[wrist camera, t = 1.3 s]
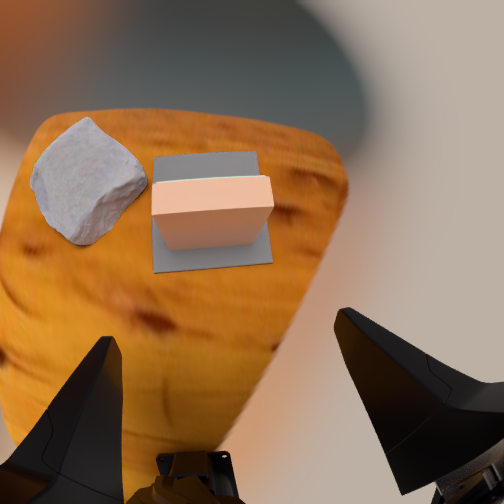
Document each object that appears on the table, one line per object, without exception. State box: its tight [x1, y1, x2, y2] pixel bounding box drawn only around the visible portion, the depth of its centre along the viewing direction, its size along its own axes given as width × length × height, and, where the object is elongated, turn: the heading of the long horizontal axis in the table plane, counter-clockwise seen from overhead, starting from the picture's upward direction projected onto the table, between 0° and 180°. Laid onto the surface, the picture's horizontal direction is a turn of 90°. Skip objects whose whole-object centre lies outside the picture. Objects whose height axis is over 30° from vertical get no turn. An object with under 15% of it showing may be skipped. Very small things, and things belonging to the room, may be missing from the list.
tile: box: [152, 175, 274, 251], centre depth 19 cm, size 2×7×8 cm, turn 97°
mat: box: [152, 151, 273, 273], centre depth 24 cm, size 11×10×1 cm
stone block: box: [30, 117, 148, 245], centre depth 22 cm, size 12×5×10 cm
